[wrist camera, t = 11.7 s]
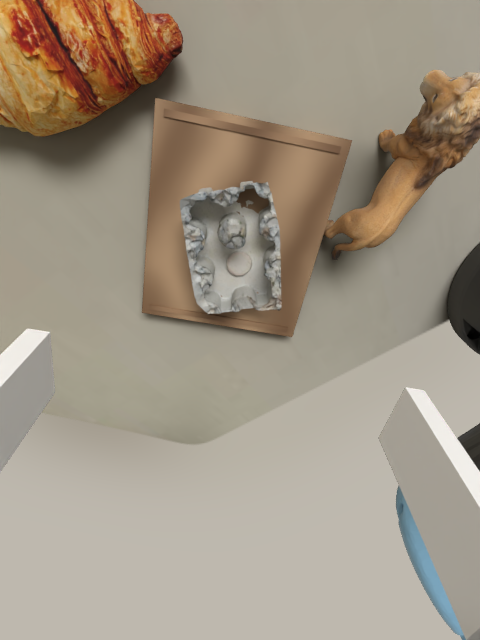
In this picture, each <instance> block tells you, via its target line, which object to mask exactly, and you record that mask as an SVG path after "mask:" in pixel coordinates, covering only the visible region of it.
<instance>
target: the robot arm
mask: <svg viewBox="0 0 480 640" xmlns="http://www.w3.org/2000/svg"><path fill="white" fill-rule="evenodd" d="M448 315H449V320H450V323H451V325H452V327H453V329H454V331H455V332H456V333H457V335H458V336H459V337H460V338H461V339H462V340H463V341H464V342H465V343H466V344H467V345H468V346H469V347H470V348H472V349H473V350H474V351H475V352H477V353H478V354H480V244H479V245H478V246H477V247H476V248H475V249H474V250H473V251H472V252H471V253H470V255H469V256H468V257H467V258H466V260H465V261H464V262H463V264H462V265H461V267H460V269H459V270H458V272H457V274H456V276H455V278H454V280H453V283H452V285H451V289H450V292H449V297H448ZM54 393H55V385H54V373H53V360H52V348H51V336H50V332H46V331H40V330H33V329H26V330H25V331H24V332H23V333H22V334H21V335H20V336H19V337H18V338H17V339H16V340H15V341H14V342H13V343H12V344H11V345H10V346H9V347H8V348H7V349H6V350H5V351H4V352H3V353H2V354H1V355H0V472H1V471H2V469H3V468H4V466H5V465H6V463H7V462H8V460H9V459H10V458H11V456H12V455H13V453H14V452H15V450H16V449H17V447H18V446H19V444H20V443H21V441H22V440H23V439H24V437H25V436H26V434H27V433H28V431H29V430H30V428H31V427H32V425H33V424H34V423H35V421H36V420H37V418H38V417H39V415H40V414H41V412H42V411H43V409H44V408H45V406H46V405H47V404H48V402H49V401H50V399H51V398H52V396H53V395H54ZM379 440H380V442H381V445H382V447H383V450H384V452H385V454H386V456H387V459H388V461H389V463H390V465H391V468H392V470H393V472H394V475H395V477H396V479H397V482H398V484H399V486H398V490H397V495H396V509H397V514H398V518H399V527H400V531H401V534H402V537H403V541H404V544H405V547H406V550H407V552H408V555H409V557H410V560H411V562H412V565H413V567H414V569H415V571H416V573H417V575H418V577H419V579H420V581H421V583H422V585H423V587H424V589H425V591H426V593H427V594H428V596H429V598H430V600H431V601H432V603H433V605H434V606H435V607H436V609H437V611H438V612H439V614H440V615H441V617H442V618H443V619H444V621H445V622H446V623H447V624H448V626H449V627H450V628H451V629H452V630H453V632H455V633H456V634H458V635H460V636H461V638H462V640H480V424H478V425H477V426H475V427H474V428H472V429H471V430H469V431H468V432H466V433H465V434H463V435H461V436H460V437H458V438H456V436H455V435H454V433H453V432H452V430H451V429H450V427H449V426H448V424H447V423H446V421H445V420H444V418H443V417H442V416H441V414H440V413H439V411H438V410H437V408H436V407H435V405H434V404H433V402H432V401H431V399H430V398H429V397H428V395H427V394H426V392H425V391H424V390H420V389H414V388H407V387H405V389H404V391H403V392H402V394H401V396H400V398H399V400H398V402H397V404H396V406H395V408H394V409H393V411H392V414H391V415H390V417H389V419H388V421H387V423H386V425H385V427H384V429H383V430H382V432H381V434H380V436H379Z"/></svg>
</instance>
